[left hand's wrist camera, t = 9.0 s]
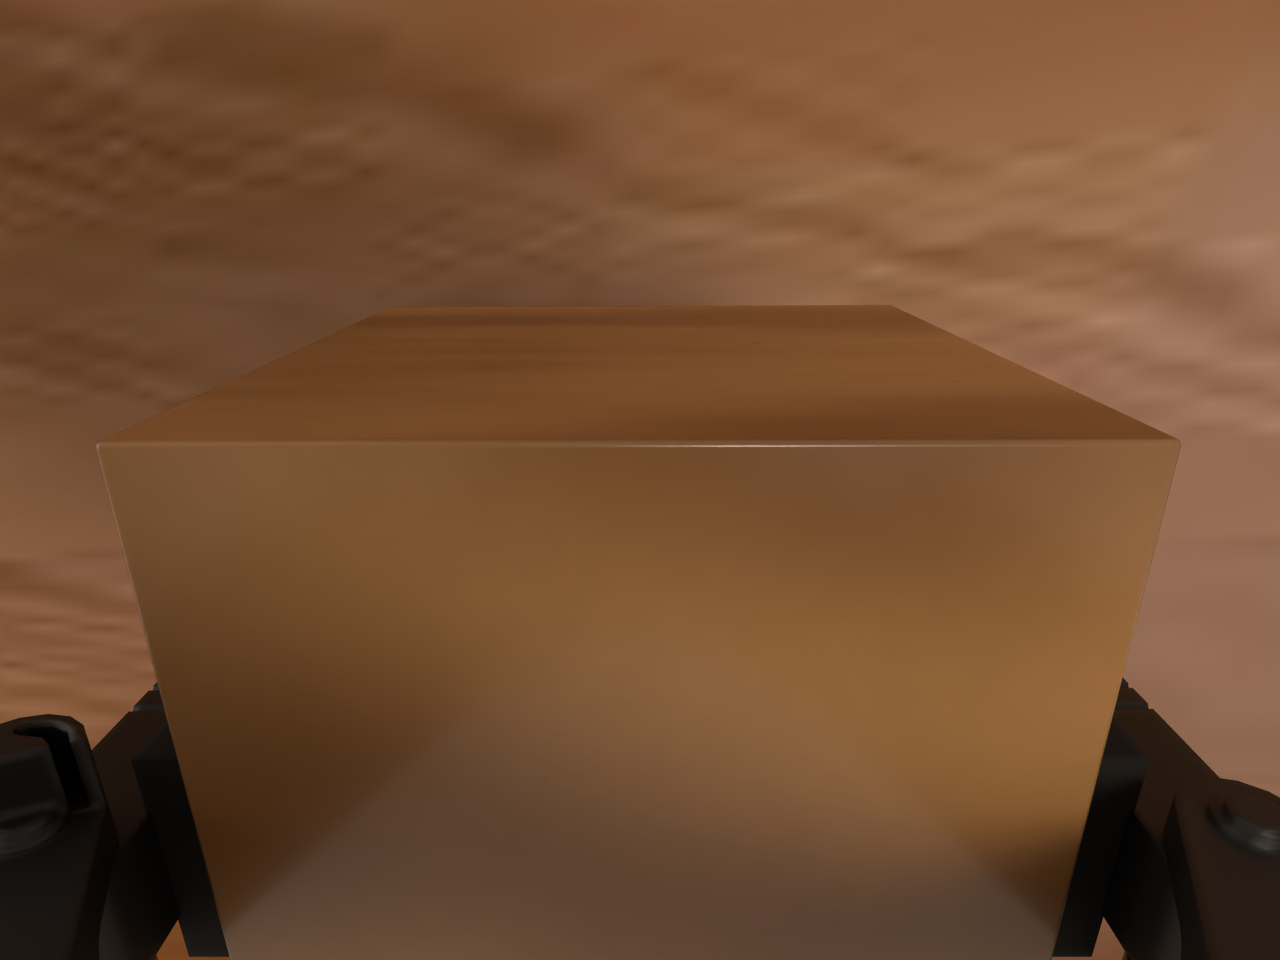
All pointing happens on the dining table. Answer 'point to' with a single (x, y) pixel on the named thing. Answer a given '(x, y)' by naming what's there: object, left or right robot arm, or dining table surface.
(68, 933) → the left robot arm
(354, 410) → the thick board
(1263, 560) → the dining table surface
